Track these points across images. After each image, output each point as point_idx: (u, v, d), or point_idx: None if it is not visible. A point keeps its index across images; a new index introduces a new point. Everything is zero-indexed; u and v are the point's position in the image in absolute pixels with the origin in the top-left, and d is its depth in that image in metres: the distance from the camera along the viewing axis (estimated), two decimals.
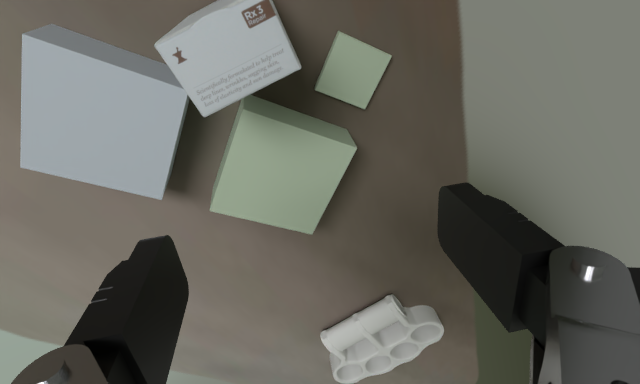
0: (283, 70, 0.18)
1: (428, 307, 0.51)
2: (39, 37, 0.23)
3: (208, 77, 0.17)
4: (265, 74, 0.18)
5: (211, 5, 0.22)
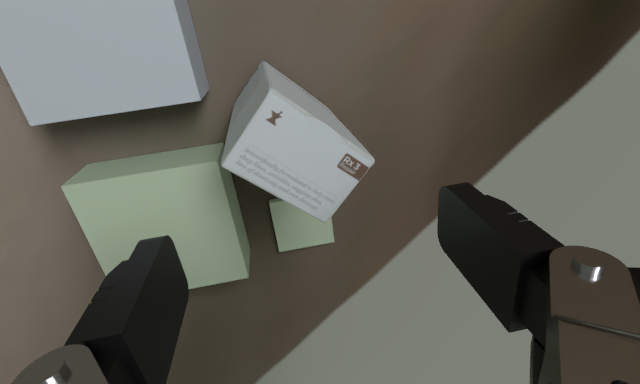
0: (315, 211, 0.17)
1: None
2: None
3: (268, 153, 0.15)
4: (302, 199, 0.17)
5: (299, 90, 0.22)
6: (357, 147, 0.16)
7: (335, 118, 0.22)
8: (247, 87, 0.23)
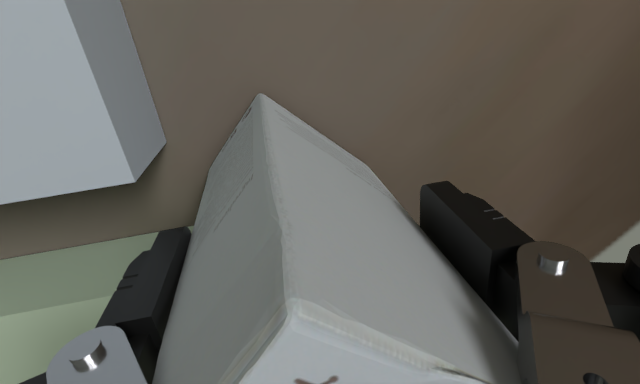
0: None
1: None
2: None
3: None
4: None
5: (334, 162, 0.11)
6: None
7: (406, 217, 0.11)
8: (231, 148, 0.12)
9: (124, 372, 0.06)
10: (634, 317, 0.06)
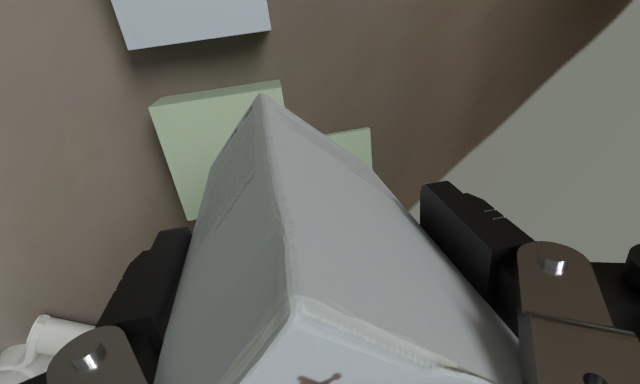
0: None
1: None
2: None
3: None
4: None
5: (335, 161, 0.11)
6: None
7: (407, 216, 0.11)
8: (231, 147, 0.12)
9: (124, 372, 0.06)
10: (634, 317, 0.06)
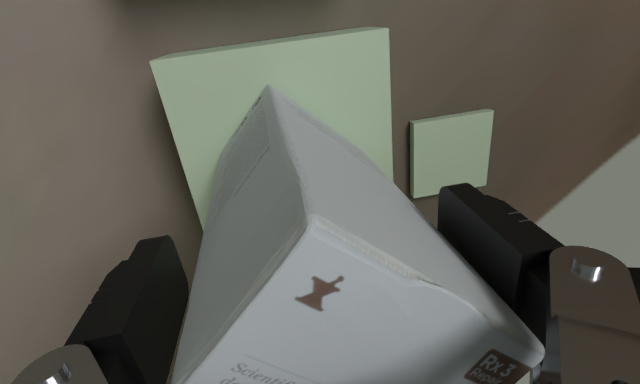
0: None
1: None
2: None
3: (298, 369, 0.06)
4: None
5: (336, 144, 0.12)
6: (512, 327, 0.07)
7: (400, 194, 0.12)
8: (242, 132, 0.13)
9: None
10: None
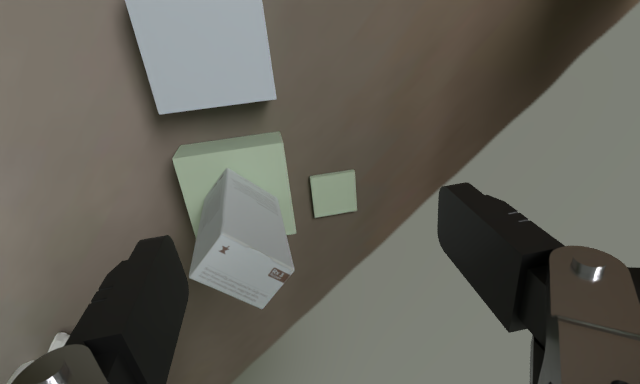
0: (254, 302, 0.25)
1: None
2: None
3: (221, 269, 0.23)
4: (245, 295, 0.24)
5: (251, 200, 0.29)
6: (282, 262, 0.24)
7: (277, 221, 0.30)
8: (214, 192, 0.31)
9: None
10: None
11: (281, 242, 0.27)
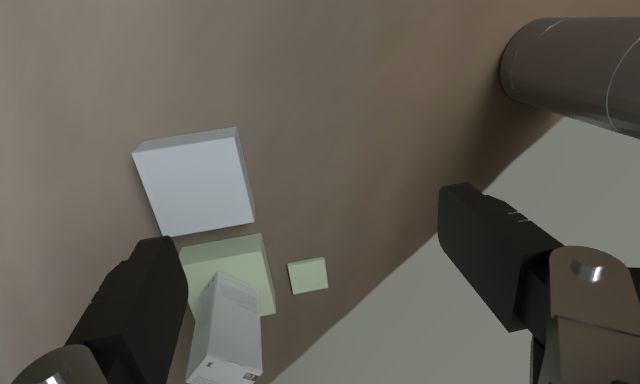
0: None
1: None
2: (236, 142, 0.36)
3: (208, 376, 0.32)
4: None
5: (234, 305, 0.38)
6: (252, 368, 0.33)
7: (255, 320, 0.38)
8: (206, 295, 0.40)
9: None
10: None
11: (255, 345, 0.35)
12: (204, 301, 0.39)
